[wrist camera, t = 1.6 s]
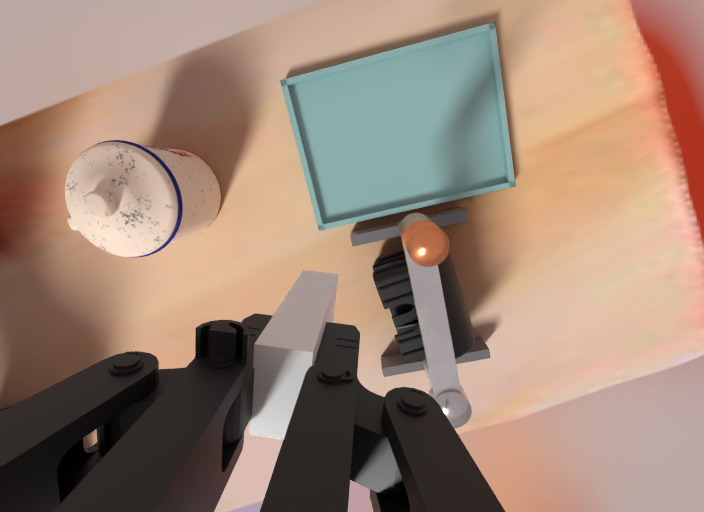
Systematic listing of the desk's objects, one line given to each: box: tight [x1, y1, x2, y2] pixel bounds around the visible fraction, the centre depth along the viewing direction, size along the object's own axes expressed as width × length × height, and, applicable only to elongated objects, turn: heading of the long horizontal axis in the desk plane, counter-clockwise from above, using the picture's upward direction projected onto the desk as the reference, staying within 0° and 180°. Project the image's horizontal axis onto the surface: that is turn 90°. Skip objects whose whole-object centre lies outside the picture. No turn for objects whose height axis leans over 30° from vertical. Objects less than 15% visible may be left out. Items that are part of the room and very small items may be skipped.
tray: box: [280, 22, 515, 231], centre depth 33 cm, size 19×14×1 cm
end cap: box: [373, 250, 475, 364], centre depth 34 cm, size 10×7×7 cm
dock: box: [350, 208, 490, 389], centre depth 34 cm, size 11×16×8 cm
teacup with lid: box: [65, 140, 221, 257], centre depth 31 cm, size 12×9×12 cm
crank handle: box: [398, 213, 472, 428], centre depth 26 cm, size 3×18×8 cm, turn 13°
